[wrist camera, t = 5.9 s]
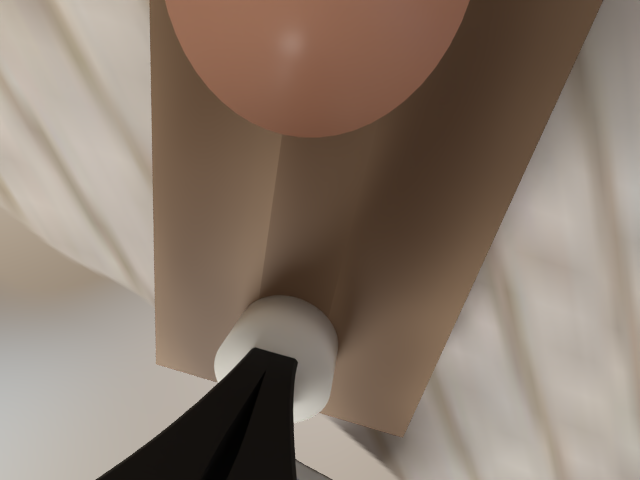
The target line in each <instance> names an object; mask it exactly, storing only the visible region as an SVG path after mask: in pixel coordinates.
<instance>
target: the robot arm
mask: <svg viewBox="0 0 640 480" xmlns="http://www.w3.org/2000/svg"><path fill="white" fill-rule="evenodd" d="M297 365H298V362H297V360H296V359H295V358H292V357H288V356H284V355H281V354H277V353H274V352H270V351H267V350H263V349H259V348H256V347H254V348H252V349H251V350H250V351H249V352H248V353H247V354H246V355H245V356H244V358H243V359H242V360H241V361H240V362H239V363H238V364H237V365H236V366H235V367H234V368H233V369H232V370H231V371H230V372H229V373H228V374H227V375H226V376H225V377H224V378H223V379H222V380H221V381H220V382H219V383H218V384H217V385H216V386H215V387H213V388H212V389H211V390H210V391H209V392H208V393H207V394H206V395H205V396H204V397H203V398H202V399H200V400H199V402H197V403H196V404H195V405H194V406H192V407H191V408H190V409H189V410H188V411H186V412H185V413H184V414H183V415H182V416H181V417H179V418H178V419H177V420H176V421H175V422H174V423H172V424H171V425H170V426H169V427H167V428H166V429H165V430H163V431H162V432H161V433H160V434H158V435H157V436H156V437H155V438H153V439H152V440H151V441H149V442H148V443H147V444H146V445H144V446H143V447H141V448H140V449H139V450H137V451H136V452H135V453H133V454H132V455H131V456H129V457H128V458H126V459H125V460H124V461H122V462H121V463H119V464H118V465H116V466H115V467H114V468H112V469H111V470H109V471H108V472H106V473H105V474H103V475H102V476H101V477H99V478H98V479H96V480H297V474H296V462H295V448H294V417H293V403H294V384H295V375H296V370H297Z"/></svg>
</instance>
